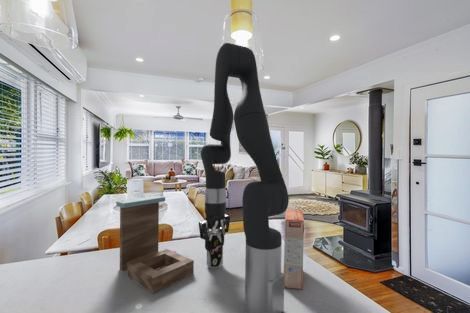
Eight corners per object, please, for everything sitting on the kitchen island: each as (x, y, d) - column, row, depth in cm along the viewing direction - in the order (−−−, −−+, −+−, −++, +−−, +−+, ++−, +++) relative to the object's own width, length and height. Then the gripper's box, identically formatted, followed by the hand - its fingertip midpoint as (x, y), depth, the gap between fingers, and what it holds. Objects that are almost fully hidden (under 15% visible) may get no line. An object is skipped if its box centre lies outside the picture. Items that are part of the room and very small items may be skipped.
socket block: (193, 273, 80) (193, 260, 80) (153, 293, 69) (153, 278, 69) (166, 260, 90) (166, 248, 90) (127, 276, 78) (127, 262, 78)
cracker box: (303, 290, 71) (304, 220, 71) (282, 288, 73) (284, 218, 73) (301, 269, 85) (302, 209, 85) (284, 266, 86) (285, 208, 86)
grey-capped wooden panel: (164, 258, 92) (165, 197, 91) (122, 274, 79) (123, 203, 79) (157, 255, 95) (157, 195, 95) (115, 270, 82) (116, 201, 82)
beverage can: (207, 270, 83) (207, 235, 83) (206, 262, 88) (206, 230, 88) (223, 268, 84) (224, 234, 84) (221, 261, 89) (221, 229, 89)
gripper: (208, 205, 78) (207, 257, 78) (236, 199, 89) (235, 244, 89) (192, 202, 83) (192, 251, 83) (221, 196, 94) (220, 239, 94)
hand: (214, 247), depth 86 cm, fingers closed on beverage can, 5 cm apart
